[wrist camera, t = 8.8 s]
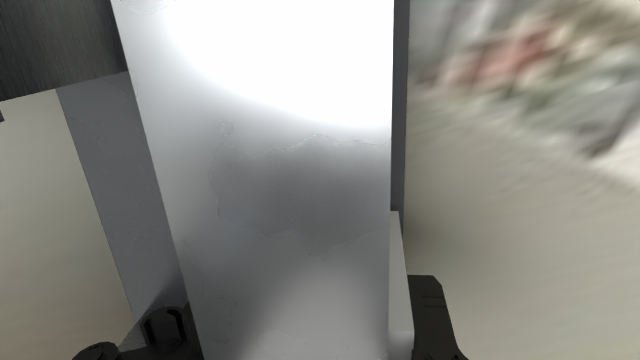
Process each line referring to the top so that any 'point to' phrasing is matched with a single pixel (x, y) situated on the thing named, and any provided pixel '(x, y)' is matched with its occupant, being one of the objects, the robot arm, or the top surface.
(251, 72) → the rail
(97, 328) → the top surface
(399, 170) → the mat
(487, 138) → the top surface
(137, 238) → the standards
